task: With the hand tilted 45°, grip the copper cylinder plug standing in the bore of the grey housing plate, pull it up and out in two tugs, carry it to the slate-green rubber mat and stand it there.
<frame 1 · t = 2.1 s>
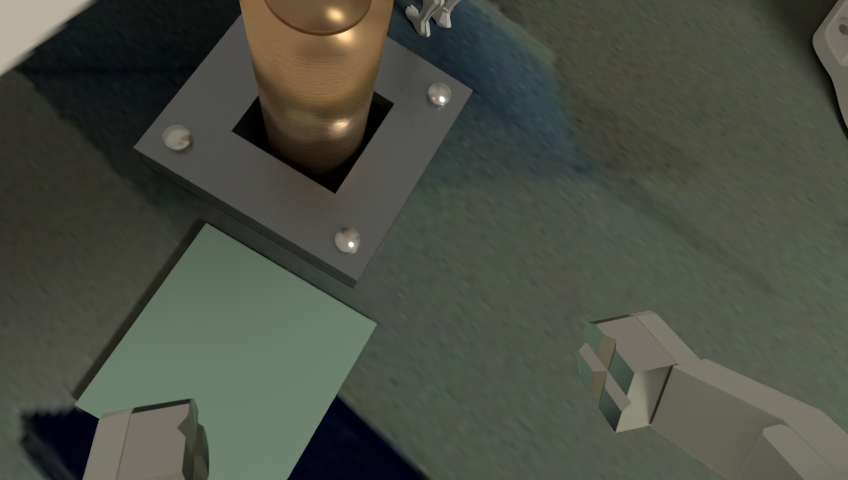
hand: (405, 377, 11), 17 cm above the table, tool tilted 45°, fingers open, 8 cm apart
human figurine: (432, 30, 33), on the table
copper plug: (316, 81, 24), in the housing
mat: (237, 361, 27), on the table
housing: (315, 140, 30), on the table
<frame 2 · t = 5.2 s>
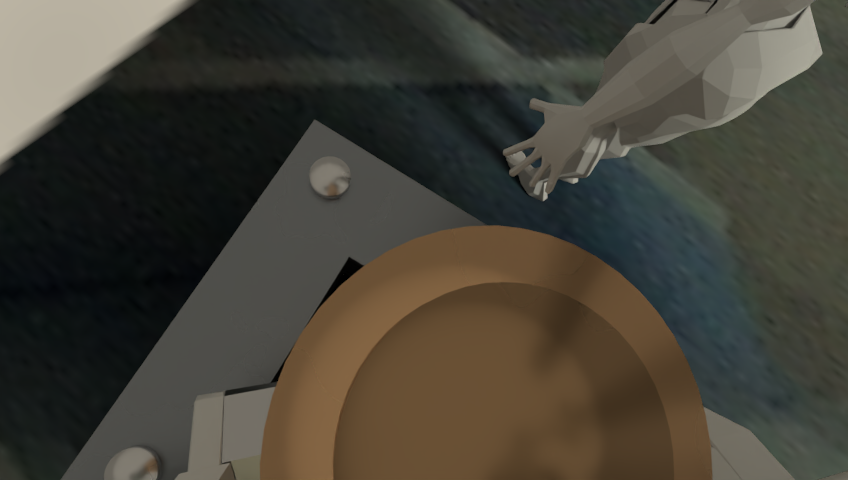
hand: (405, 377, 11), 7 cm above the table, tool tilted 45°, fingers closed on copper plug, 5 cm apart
human figurine: (546, 184, 21), on the table
copper plug: (405, 406, 12), in the housing, touching gripper
housing: (372, 390, 18), on the table
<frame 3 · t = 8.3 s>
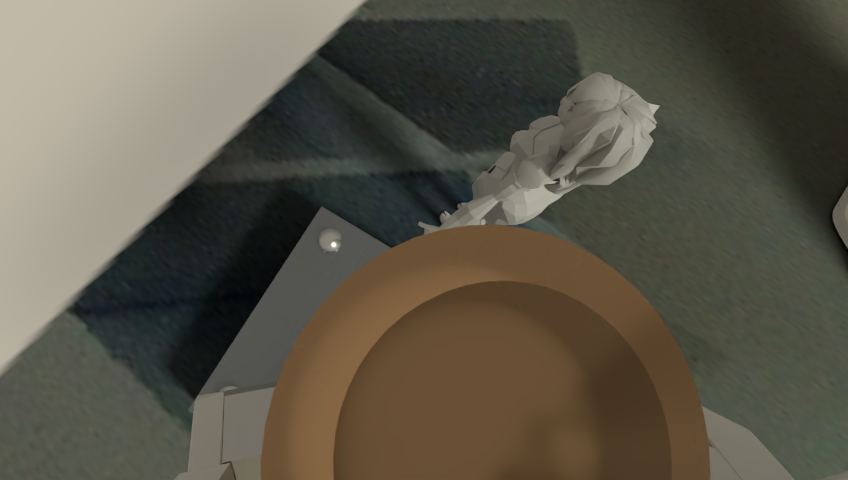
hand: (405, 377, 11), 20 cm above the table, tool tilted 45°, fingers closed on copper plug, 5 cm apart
human figurine: (465, 234, 34), on the table
copper plug: (405, 404, 12), point 20 cm above the table, touching gripper
housing: (355, 361, 31), on the table
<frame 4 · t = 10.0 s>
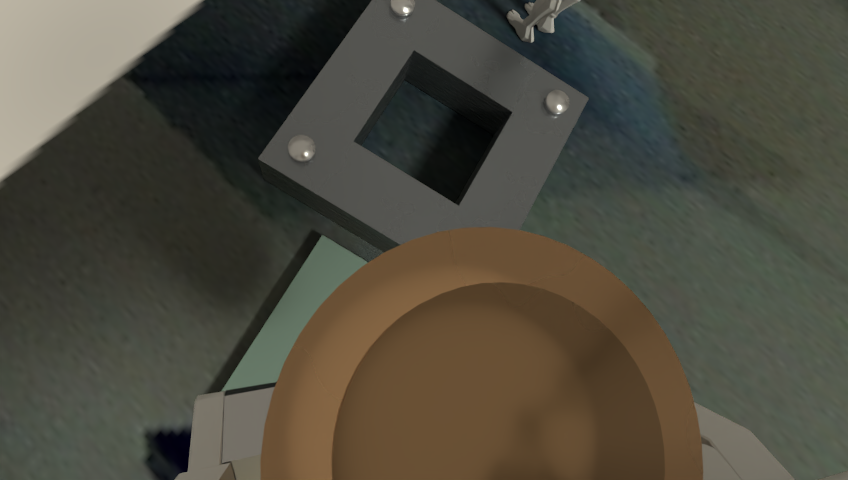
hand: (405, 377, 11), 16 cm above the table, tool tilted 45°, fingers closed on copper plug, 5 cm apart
human figurine: (533, 35, 32), on the table
copper plug: (404, 404, 12), point 15 cm above the table, touching gripper
mat: (356, 377, 26), on the table
housing: (424, 148, 29), on the table
when the fingers open (9 cm above the table, at t = 11.5 s): copper plug drops 1 cm, resting on mat.
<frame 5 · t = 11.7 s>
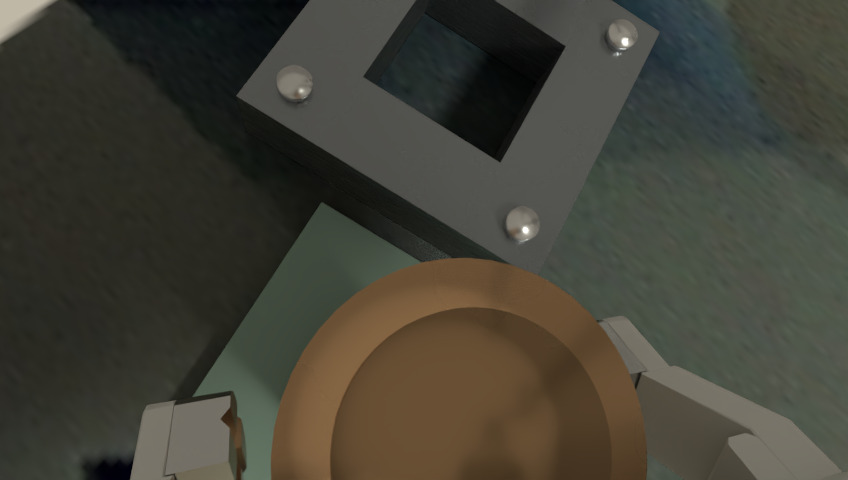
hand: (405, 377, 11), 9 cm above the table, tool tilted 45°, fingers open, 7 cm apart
copper plug: (397, 404, 13), on the mat, point 7 cm above the table
mat: (365, 387, 20), on the table
housing: (449, 97, 23), on the table
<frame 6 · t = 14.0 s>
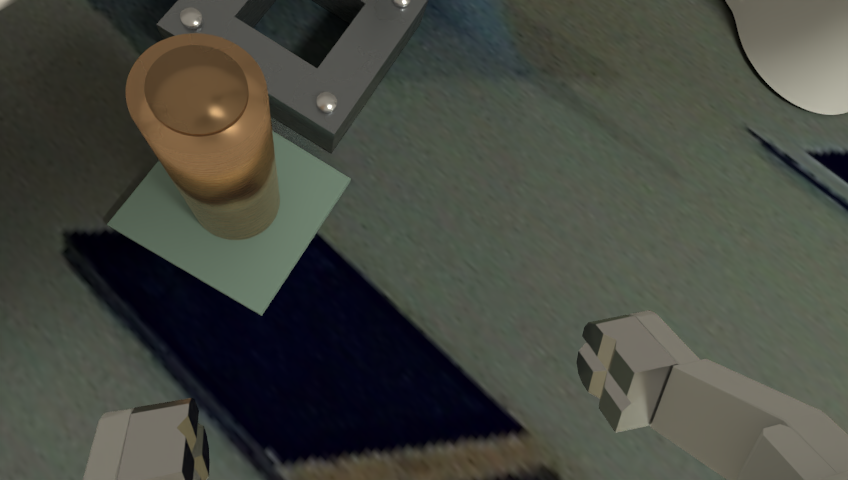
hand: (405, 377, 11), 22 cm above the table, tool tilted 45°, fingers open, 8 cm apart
copper plug: (221, 157, 27), on the mat, point 7 cm above the table
mat: (236, 203, 33), on the table
housing: (301, 37, 37), on the table
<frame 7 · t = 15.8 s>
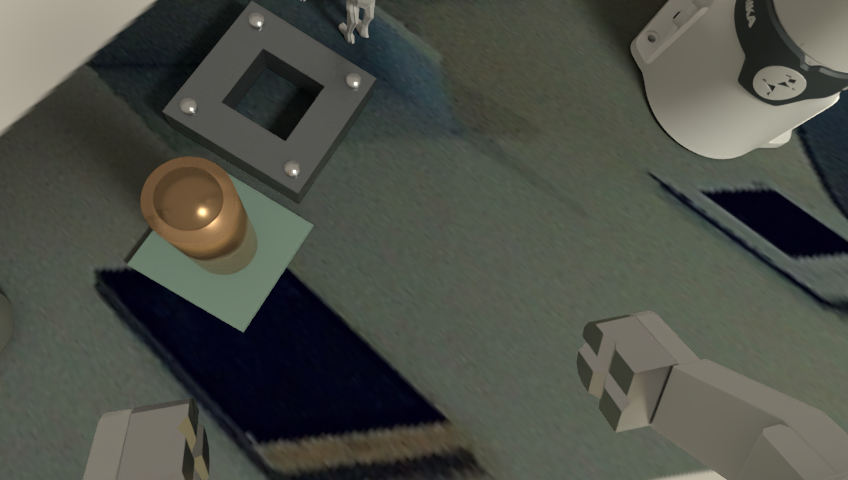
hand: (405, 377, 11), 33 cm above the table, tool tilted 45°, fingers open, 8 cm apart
human figurine: (357, 39, 50), on the table
copper plug: (209, 224, 37), on the mat, point 7 cm above the table
mat: (224, 245, 44), on the table
housing: (276, 110, 47), on the table
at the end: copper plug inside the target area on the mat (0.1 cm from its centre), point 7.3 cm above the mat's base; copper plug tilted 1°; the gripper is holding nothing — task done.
